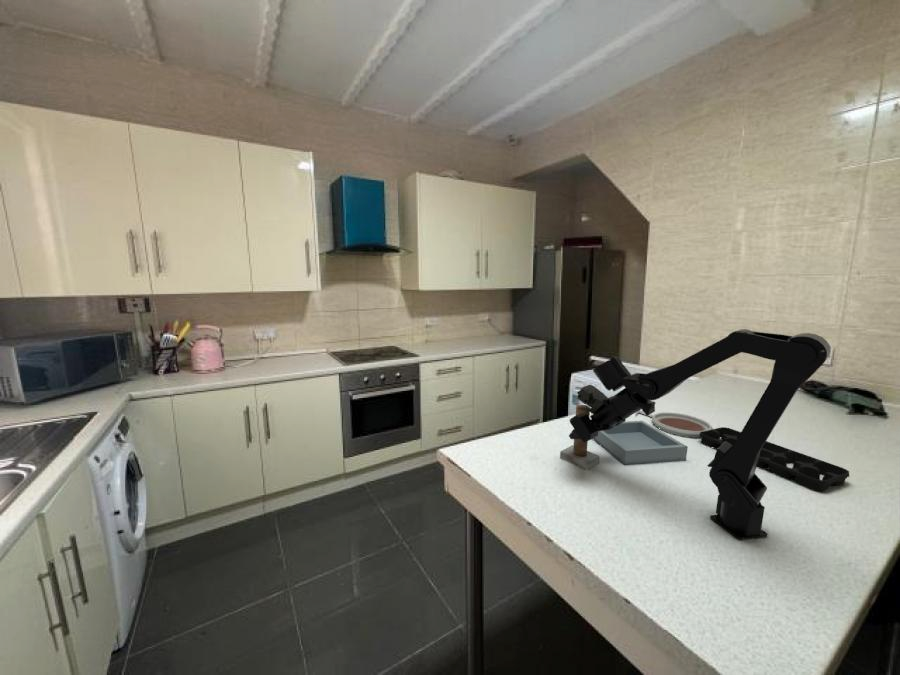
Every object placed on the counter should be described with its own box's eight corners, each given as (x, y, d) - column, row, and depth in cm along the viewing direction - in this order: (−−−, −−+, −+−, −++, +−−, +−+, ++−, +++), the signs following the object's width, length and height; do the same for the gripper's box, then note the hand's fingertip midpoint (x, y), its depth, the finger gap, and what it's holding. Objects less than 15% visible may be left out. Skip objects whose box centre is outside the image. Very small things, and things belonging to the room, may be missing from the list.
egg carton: (836, 501, 79) (839, 486, 78) (687, 448, 104) (689, 436, 103) (854, 478, 89) (856, 464, 88) (714, 434, 113) (715, 423, 113)
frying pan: (642, 400, 138) (724, 425, 114) (641, 407, 139) (723, 433, 114) (612, 407, 130) (694, 435, 106) (612, 414, 131) (693, 444, 106)
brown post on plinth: (599, 462, 94) (603, 408, 92) (587, 470, 91) (591, 414, 88) (572, 451, 101) (575, 400, 98) (559, 458, 97) (563, 405, 94)
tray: (685, 460, 96) (687, 446, 95) (624, 465, 93) (625, 450, 93) (641, 432, 113) (642, 420, 113) (588, 435, 111) (589, 423, 110)
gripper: (617, 372, 95) (577, 401, 105) (579, 384, 83) (538, 416, 93) (646, 408, 90) (601, 435, 100) (610, 427, 78) (563, 455, 88)
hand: (576, 434), depth 96 cm, fingers open, 6 cm apart
